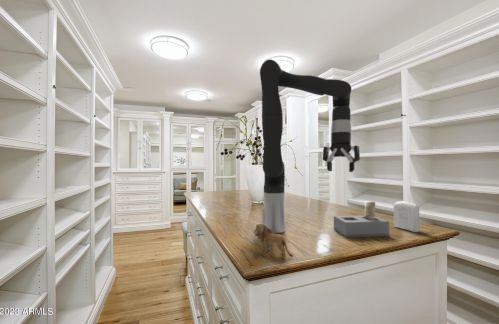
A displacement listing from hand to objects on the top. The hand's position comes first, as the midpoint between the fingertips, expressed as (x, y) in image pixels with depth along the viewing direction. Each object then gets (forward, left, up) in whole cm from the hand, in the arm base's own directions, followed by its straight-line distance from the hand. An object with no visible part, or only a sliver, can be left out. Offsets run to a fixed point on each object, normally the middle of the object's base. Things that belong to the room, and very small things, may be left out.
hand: (340, 171), depth 96 cm
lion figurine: (-16, -30, -27) cm, 44 cm away
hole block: (+6, +10, -27) cm, 29 cm away
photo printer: (+23, +26, -27) cm, 44 cm away
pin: (+9, +12, -26) cm, 30 cm away
